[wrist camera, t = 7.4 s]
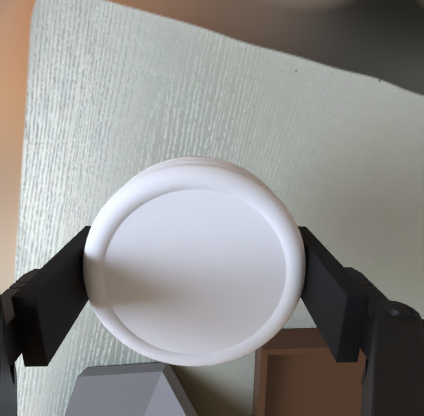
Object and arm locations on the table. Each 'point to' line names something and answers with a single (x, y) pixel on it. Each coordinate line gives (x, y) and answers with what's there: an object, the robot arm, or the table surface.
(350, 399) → the holder
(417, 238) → the table surface
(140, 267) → the coaster
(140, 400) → the shield
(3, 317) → the robot arm
